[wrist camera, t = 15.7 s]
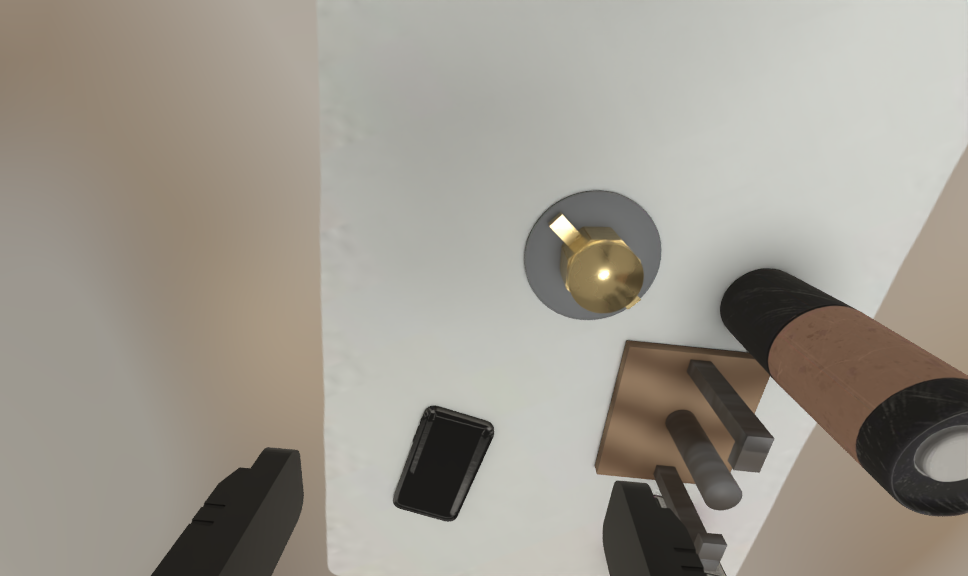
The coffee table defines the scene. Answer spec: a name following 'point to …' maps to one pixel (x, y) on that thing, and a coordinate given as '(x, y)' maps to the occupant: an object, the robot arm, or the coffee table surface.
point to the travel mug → (860, 386)
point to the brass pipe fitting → (598, 267)
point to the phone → (442, 463)
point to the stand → (686, 429)
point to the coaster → (580, 212)
